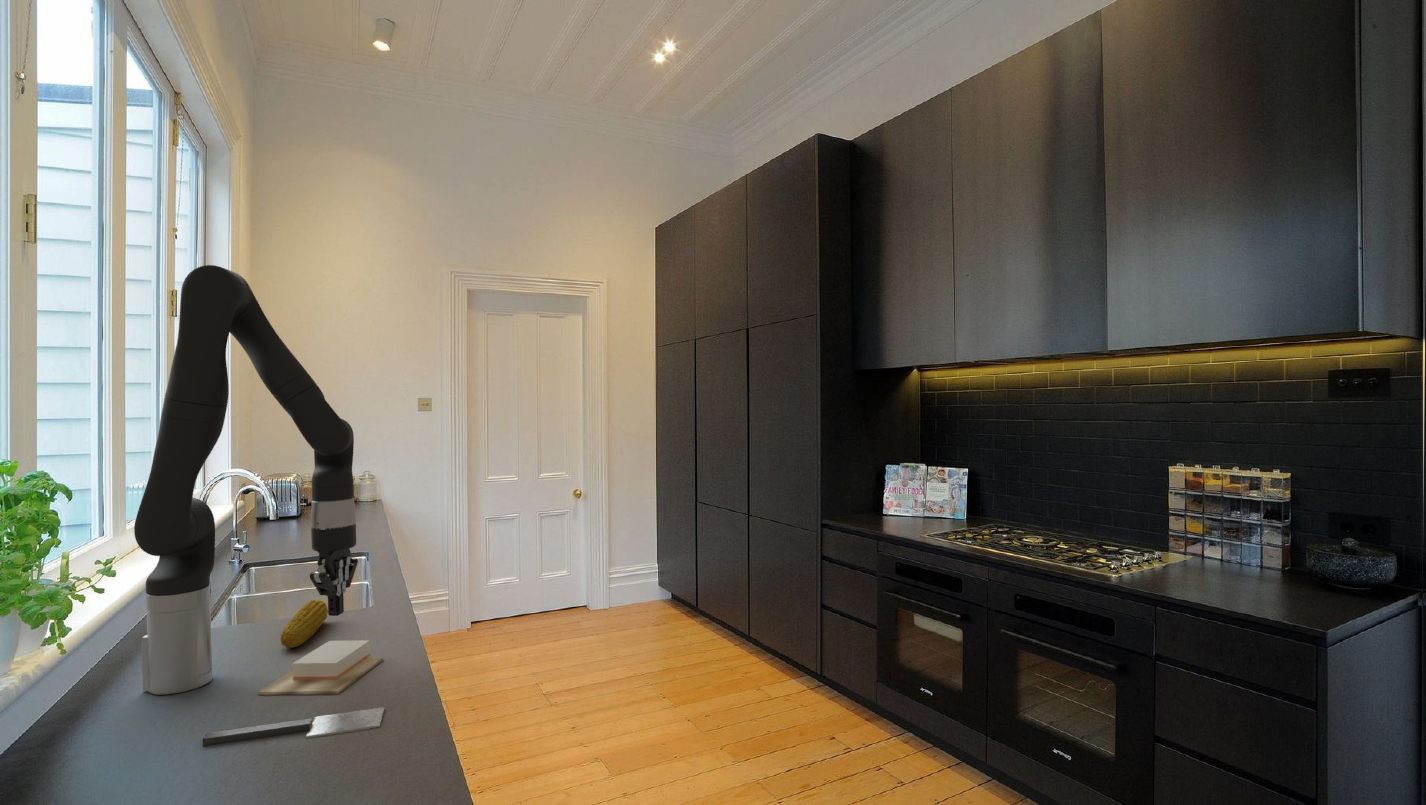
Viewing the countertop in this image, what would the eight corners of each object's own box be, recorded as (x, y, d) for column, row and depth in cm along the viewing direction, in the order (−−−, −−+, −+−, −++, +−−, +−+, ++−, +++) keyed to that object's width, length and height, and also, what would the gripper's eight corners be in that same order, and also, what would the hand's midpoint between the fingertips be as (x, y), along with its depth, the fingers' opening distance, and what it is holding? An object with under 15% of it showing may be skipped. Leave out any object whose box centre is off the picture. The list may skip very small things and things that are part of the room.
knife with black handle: (196, 754, 105) (196, 746, 105) (213, 733, 111) (212, 725, 111) (379, 727, 112) (379, 719, 112) (384, 709, 119) (384, 701, 119)
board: (257, 694, 126) (257, 691, 126) (311, 660, 142) (311, 658, 142) (337, 693, 125) (337, 690, 125) (382, 659, 141) (382, 657, 141)
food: (303, 624, 166) (303, 598, 166) (331, 621, 167) (330, 595, 167) (275, 655, 146) (274, 625, 146) (306, 652, 147) (305, 622, 147)
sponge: (329, 655, 143) (292, 679, 131) (329, 640, 143) (292, 663, 131) (370, 655, 142) (336, 679, 130) (369, 640, 142) (336, 662, 130)
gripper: (333, 517, 144) (335, 604, 145) (293, 529, 131) (295, 625, 131) (370, 516, 144) (372, 604, 144) (334, 529, 131) (336, 625, 131)
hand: (336, 614), depth 138 cm, fingers closed
